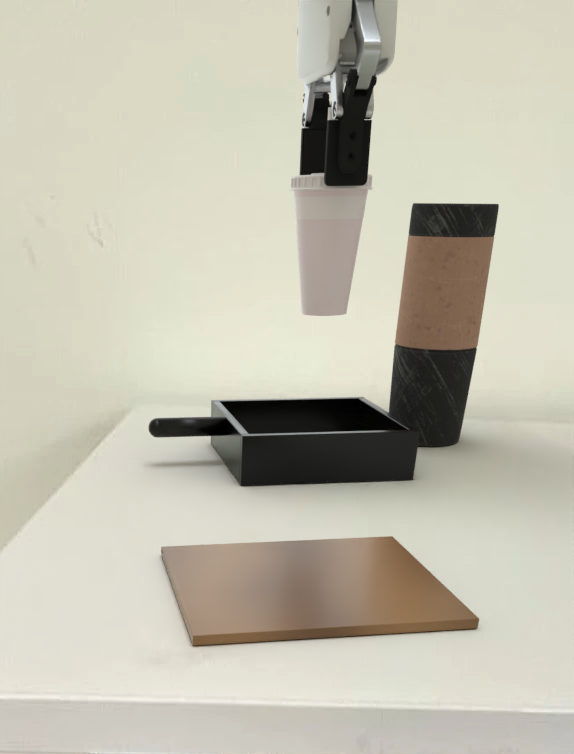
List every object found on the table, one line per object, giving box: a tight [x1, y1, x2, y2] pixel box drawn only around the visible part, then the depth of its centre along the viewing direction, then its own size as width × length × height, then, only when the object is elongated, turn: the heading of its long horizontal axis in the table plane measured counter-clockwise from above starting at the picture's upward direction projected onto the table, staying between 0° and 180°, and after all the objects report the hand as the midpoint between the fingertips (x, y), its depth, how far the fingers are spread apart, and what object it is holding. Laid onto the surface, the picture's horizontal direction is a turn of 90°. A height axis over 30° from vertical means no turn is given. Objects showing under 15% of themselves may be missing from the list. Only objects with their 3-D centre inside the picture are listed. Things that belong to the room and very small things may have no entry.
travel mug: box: [388, 202, 500, 448], centre depth 81 cm, size 8×8×20 cm
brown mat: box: [160, 535, 480, 647], centre depth 53 cm, size 16×14×1 cm
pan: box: [147, 396, 420, 487], centre depth 77 cm, size 22×15×4 cm
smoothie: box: [289, 107, 373, 317], centre depth 69 cm, size 6×6×14 cm
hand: (331, 184), depth 68 cm, fingers closed on smoothie, 6 cm apart
